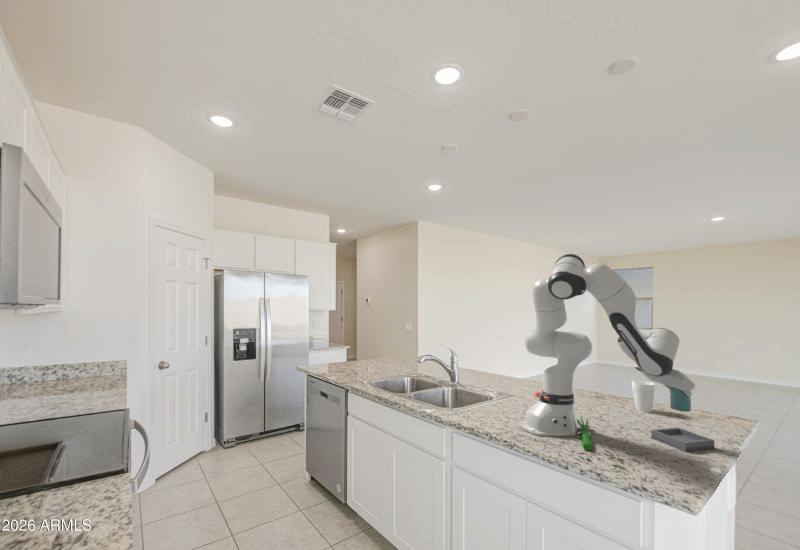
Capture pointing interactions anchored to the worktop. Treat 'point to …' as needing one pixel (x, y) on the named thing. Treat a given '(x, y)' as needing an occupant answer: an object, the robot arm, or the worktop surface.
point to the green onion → (585, 435)
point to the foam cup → (643, 395)
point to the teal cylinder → (679, 400)
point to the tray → (682, 439)
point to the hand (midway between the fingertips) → (681, 392)
